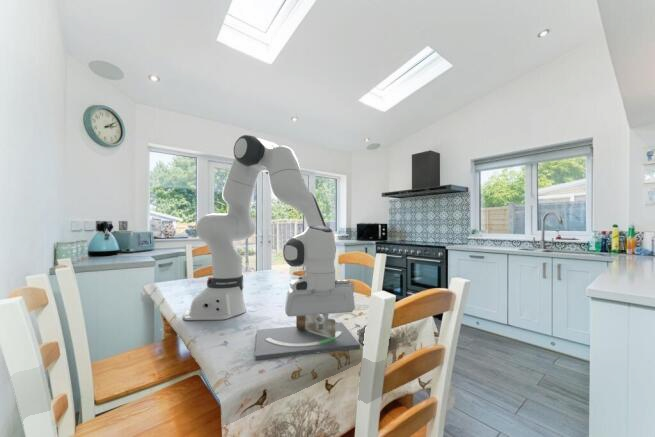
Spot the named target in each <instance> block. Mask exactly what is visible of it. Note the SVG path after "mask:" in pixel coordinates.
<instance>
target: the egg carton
mask: <svg viewBox="0 0 655 437" xmlns="http://www.w3.org/2000/svg"><path fill="white" fill-rule="evenodd" d="M366 326H367V324H365V325H364V326H363V327H361V328H359V329H357V330H356V331H357V332H356V335H357V336H358V342H359V341H360V342H359V343H360V345H364V344H363V341H364V333H365V327H366Z"/></svg>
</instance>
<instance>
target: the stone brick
mask: <svg viewBox="0 0 655 437" xmlns="http://www.w3.org/2000/svg"><path fill="white" fill-rule="evenodd" d="M319 315H320V314H318V318H316V319H317V321H318V322H321V321H322V319H323V315H321V316H319ZM295 317H296V322H295V323H296V328H297V329H301V330H302V329H307V330H310V331H313V332H316V333H319V334H323V335H326V336H329V337H332V338H335V322H336V319H335V318H330V317H328V319H327V321H326V323H325V329H320V330H317V329H316V322H315V321H314V319H313V317H312V315H305V316H295Z"/></svg>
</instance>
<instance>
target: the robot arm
mask: <svg viewBox="0 0 655 437" xmlns="http://www.w3.org/2000/svg"><path fill="white" fill-rule="evenodd" d="M233 155H234V157H233V158H234V159H233V161H232V163H231V165H230V168H229V170H228V173H227V175H226V179H225V183H224V186H223V188H222V192H221V198H222V200H223V201H224V203H226V205H227V213H210V214H209V213H208V214H205V215H202V216H201V217H199V219H198V220H197V222H196V224H195V231H196V232H195V233H196V235H197V236H198V238H199V239H200V240H201V241H202V242H204V243H205V245H206V246H207V248H208V250H209V251H210V252H209V253H210V255H211V260H212V261H211V263H212V264H211V265H212V276H209V277H207V280H206V287H205V288H204V289H203V290H202V291H201V292H200V293H198V294H197V295H196V296H195V297H194V298H193V299H192V302H191V304H190V309H188V310H187V311H185V313H184V314H183V320H185V321H215V320H216V321H217V320H220V321H221V320H222V321H223V320H228V319H230V318H232V317H235V316H236V317H237V316H239V315H241V314H244V313H245V312H246V311H247V308H246V303H245V299H244V281H245V280H244V279H245V278H244V275H243V256H242V255H241V253H239V251H237V250H236V249H235V247H234V244H233V242H238V241H244V240H247V239H250V238H252V237H253V236H254V234H255V231H256V224H255V222H254V220H253V218H252V215H251V202H252V199H253V195H254V193H255V192H254V191H255V189H256V185H257V182H258V177H259V175H260V174H261V173H264V172H265V174H267V175H268V180H269V185H270V190H271V192H272V194H273V196H274V197H275V198H276V199H277V201H280V202H281V203H283V204H285V205H287V206H290V207H292V208H294V209H296V210H297V211H299V212H300V213H301V214H302V216H303V217H304V219H305V222H306V224H307V228H306V229H305V230H304V231H303V232H302V233H300V234H298V235H295V236H292V237H289V238H288V239H287V240H286V241H285V243H284V245H283V250H282V255H283V258H284V261H285V262H286V264H288V266H290V267H294V268H302V267H303V268H304V267H305V270H304V271H305V272H304V273H305V274H302V275H299V276H297V277H294V278H291V279H290V280H289V287H290V288H288V291H287V293H286V297H285V306H284V308H285V309H284V311H285V315H286V316H287V317H296V316H305V315H312V317H313V319H314V321H315V322H316V329H317V330H320V329H325V323H326V321H327V319H328V318H329V314H343V313H352V312H354V310H355V307H356V306H355V304H356V303H355V297H354V293H355V283H354V282H353V281H351V280H349V279H343V280H339V279H337V280H336V267H335V259H336V252H337V247H336V240H335V235H334V234H335V233H334V231H333V229H332V228H331V227H328V226H326V223H325V222H326V221H325V220H324V218H323V214H322V212H321V210H320V207H319V205H318V201H317V200H316V198H315V196H314V194H313V193H312V192H311V191H310V189H309V188H308V186H307V184H306V182H305V181H304V177H303V175H302V171H301V167H300V164H299V161H298V158H297V156H296V154H295V152H294V150H293V149H292V148H290V147H289V146H286V145H277V144H276V143H274V142H271V141H269V140H265V139H262V138H259V137H256V136H254V135H249V134H244V135H240V137H239V138H238V139H236V141H235V143H234V146H233ZM318 315H321V316H323V319H322V321H321V322H318V321H317V319H316V318H318Z"/></svg>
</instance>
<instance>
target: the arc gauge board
mask: <svg viewBox="0 0 655 437" xmlns="http://www.w3.org/2000/svg"><path fill="white" fill-rule="evenodd" d="M255 342H256V344H255V354H254V355H255V356H254V357H255V358H254V360H255V361H257V360H265V359H267V360H268V359H274V358H275V359H276V358H283V357H290V356H299V355H300V356H301V354H302V355H308V354H310V353H311V354H317V352H320V353H328V352H327V351H329V352H335V351H344V350H355V349H360V347H361V343H360V342H359V341H358V340H356V338H355V337H354V335H353V334H352V333H351V332H350V331H349V329H348V328H347V327H346V325H345V324H344V323H343V322H337V323H335V338H332V337H329V336H326V335H323V334H319V333H316V332H313V331H310V330H307V329H302V330H301V329H297V328H296V326H286V327H275V328H273V327H272V328H263V329H257V330H256V340H255Z"/></svg>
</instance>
